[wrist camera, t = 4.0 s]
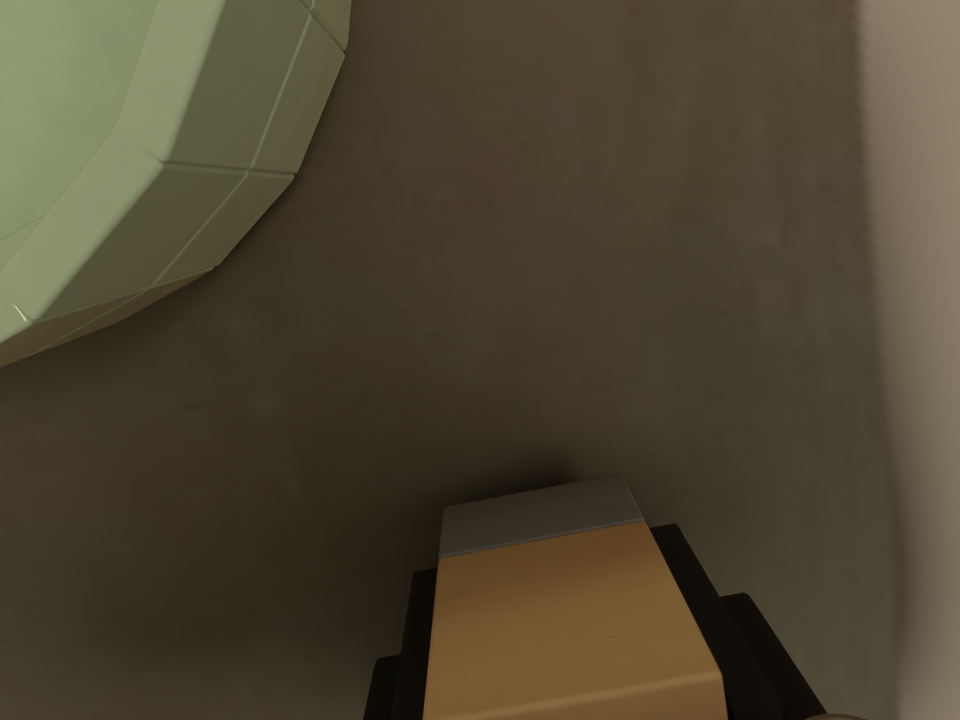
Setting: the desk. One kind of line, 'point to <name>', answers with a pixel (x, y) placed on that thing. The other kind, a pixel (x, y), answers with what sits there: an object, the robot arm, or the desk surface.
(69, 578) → the desk surface
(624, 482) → the eraser
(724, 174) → the desk surface
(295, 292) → the desk surface
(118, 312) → the bowl
